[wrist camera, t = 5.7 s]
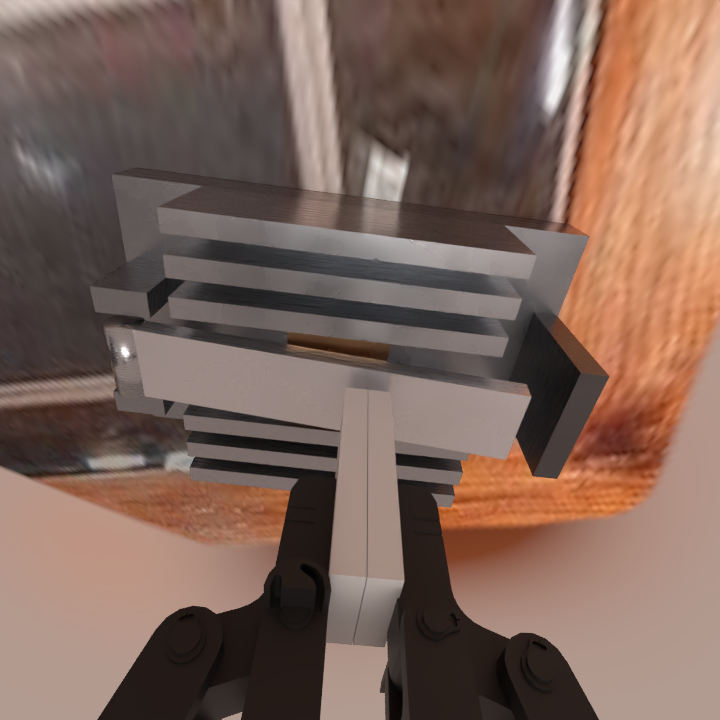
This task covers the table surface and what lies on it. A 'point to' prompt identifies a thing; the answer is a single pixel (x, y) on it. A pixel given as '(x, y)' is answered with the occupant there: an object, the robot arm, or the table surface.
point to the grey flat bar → (311, 385)
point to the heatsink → (351, 310)
